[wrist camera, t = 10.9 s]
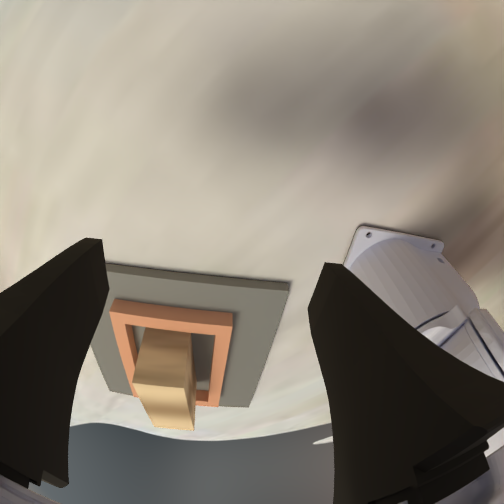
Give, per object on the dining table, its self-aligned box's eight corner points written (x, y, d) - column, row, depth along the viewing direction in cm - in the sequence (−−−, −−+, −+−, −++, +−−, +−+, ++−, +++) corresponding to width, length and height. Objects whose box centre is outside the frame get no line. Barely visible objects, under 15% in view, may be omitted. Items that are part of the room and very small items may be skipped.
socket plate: (287, 283, 23) (292, 304, 21) (248, 400, 33) (249, 417, 31) (71, 258, 20) (59, 276, 18) (111, 384, 31) (107, 400, 29)
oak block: (196, 382, 29) (194, 430, 24) (161, 379, 28) (154, 426, 23) (190, 328, 24) (183, 388, 19) (145, 325, 23) (131, 382, 18)
